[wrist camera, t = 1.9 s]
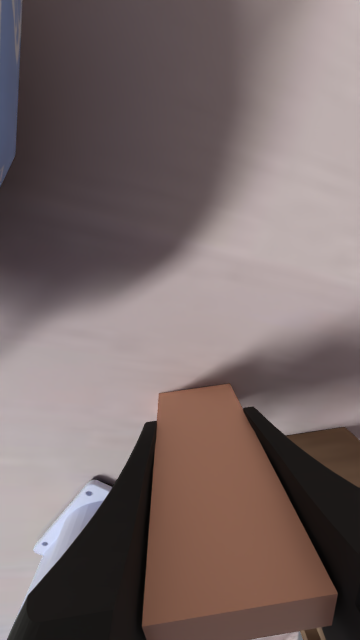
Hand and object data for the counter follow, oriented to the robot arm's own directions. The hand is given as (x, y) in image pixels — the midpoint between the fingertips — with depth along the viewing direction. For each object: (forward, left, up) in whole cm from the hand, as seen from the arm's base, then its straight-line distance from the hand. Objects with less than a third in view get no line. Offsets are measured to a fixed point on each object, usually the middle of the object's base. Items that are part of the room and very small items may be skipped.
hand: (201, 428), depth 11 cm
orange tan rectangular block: (0, 0, -3) cm, 3 cm away
